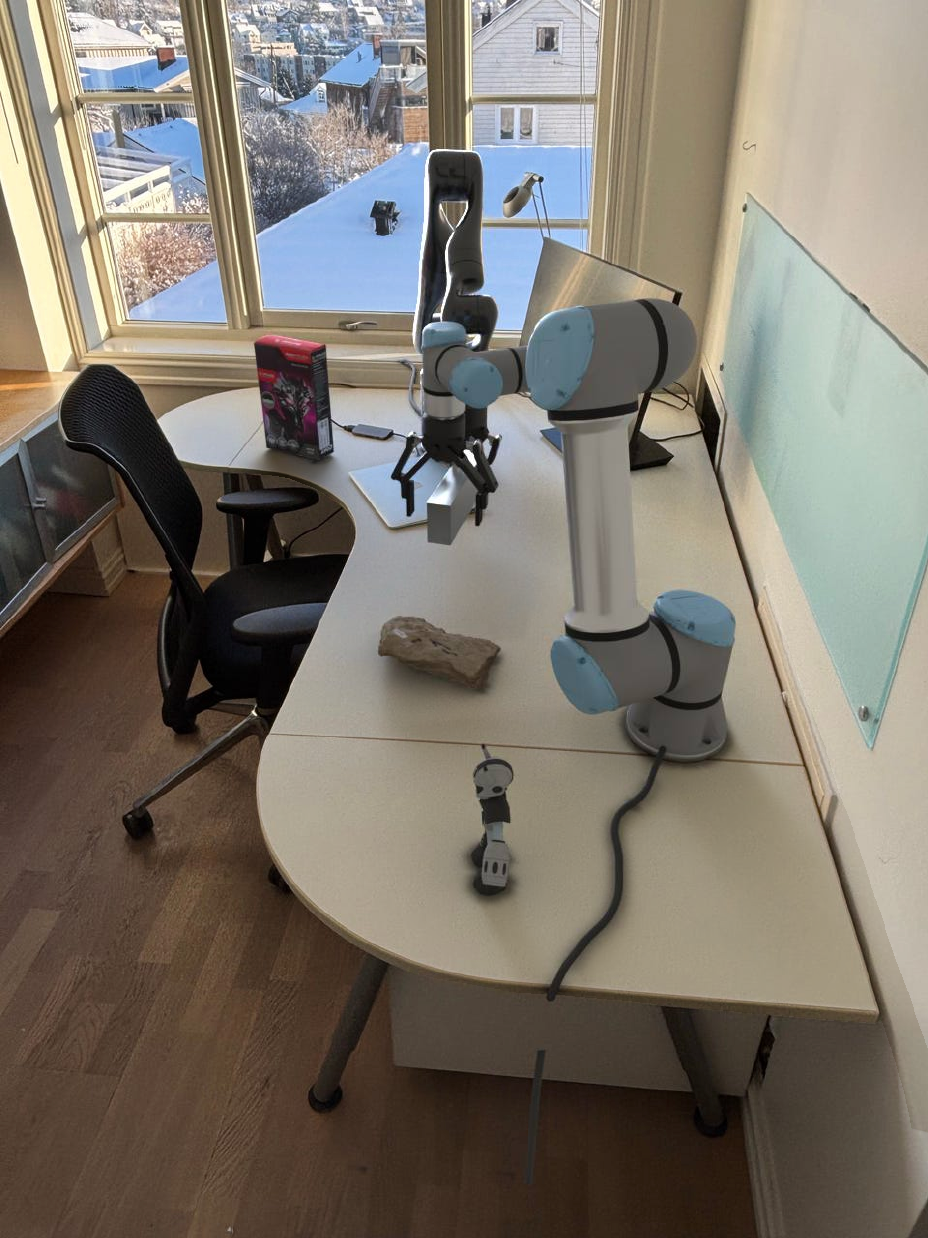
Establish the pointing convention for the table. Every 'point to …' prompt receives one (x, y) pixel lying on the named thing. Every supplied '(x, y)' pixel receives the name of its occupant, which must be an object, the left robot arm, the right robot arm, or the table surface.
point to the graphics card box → (294, 396)
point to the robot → (492, 823)
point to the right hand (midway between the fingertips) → (444, 518)
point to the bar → (450, 504)
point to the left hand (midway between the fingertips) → (467, 479)
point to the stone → (438, 651)
